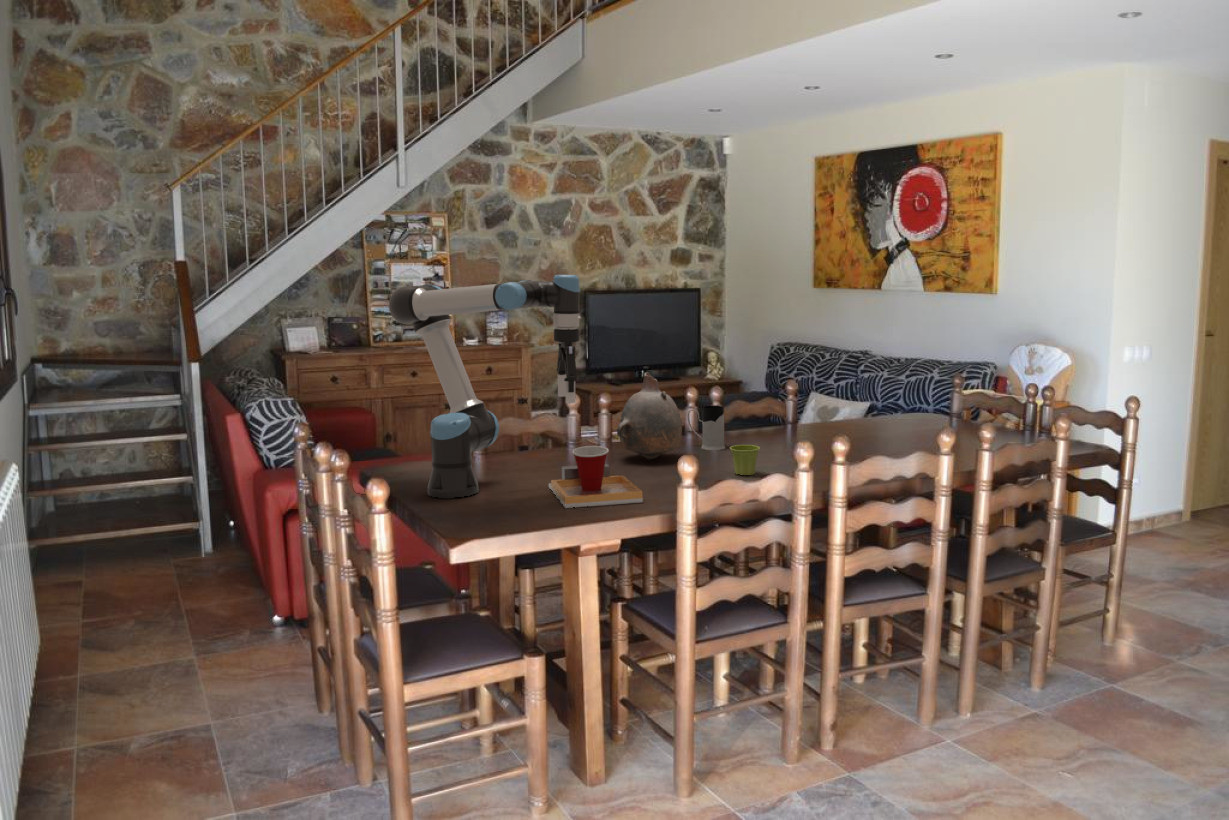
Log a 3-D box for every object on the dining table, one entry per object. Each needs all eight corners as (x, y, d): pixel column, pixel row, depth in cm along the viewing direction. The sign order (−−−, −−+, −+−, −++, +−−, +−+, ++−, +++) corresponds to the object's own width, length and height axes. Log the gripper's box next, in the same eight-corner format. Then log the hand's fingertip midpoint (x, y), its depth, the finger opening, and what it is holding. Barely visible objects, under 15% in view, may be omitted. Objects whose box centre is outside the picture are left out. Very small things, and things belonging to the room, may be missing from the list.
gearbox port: (565, 508, 282) (564, 486, 281) (548, 487, 308) (548, 467, 307) (642, 502, 287) (642, 481, 286) (619, 482, 313) (619, 462, 312)
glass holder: (720, 450, 360) (720, 409, 358) (683, 448, 366) (683, 407, 364) (728, 446, 368) (728, 405, 366) (692, 444, 374) (691, 404, 372)
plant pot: (758, 477, 316) (758, 450, 315) (728, 477, 318) (728, 450, 316) (760, 471, 325) (760, 445, 324) (731, 470, 327) (731, 444, 326)
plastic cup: (569, 492, 295) (568, 452, 293) (577, 484, 305) (576, 445, 304) (605, 493, 293) (604, 453, 291) (612, 485, 303) (611, 446, 301)
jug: (663, 468, 331) (662, 378, 327) (606, 463, 342) (605, 375, 337) (694, 455, 352) (693, 370, 348) (640, 450, 363) (638, 367, 358)
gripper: (587, 331, 283) (586, 406, 287) (571, 324, 307) (571, 393, 311) (560, 331, 282) (560, 406, 285) (547, 324, 306) (547, 393, 309)
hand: (566, 399), depth 298 cm, fingers open, 13 cm apart
